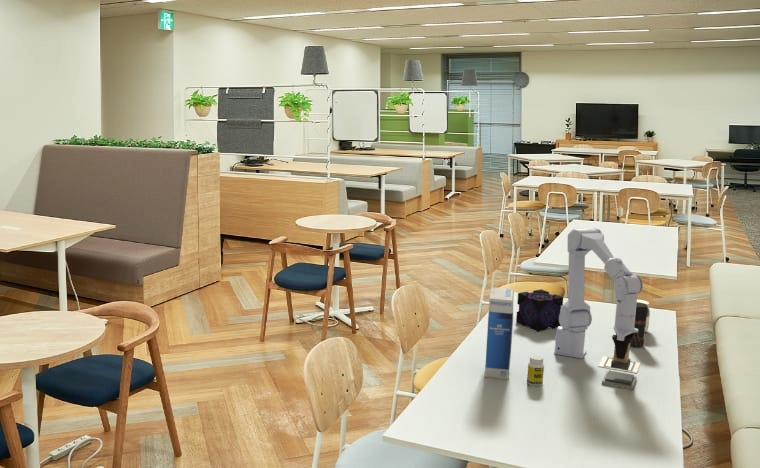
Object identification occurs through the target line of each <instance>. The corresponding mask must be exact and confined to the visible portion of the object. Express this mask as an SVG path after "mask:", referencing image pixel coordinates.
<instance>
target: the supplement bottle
mask: <svg viewBox="0 0 760 468" xmlns="http://www.w3.org/2000/svg"><path fill="white" fill-rule="evenodd" d="M544 370H545V365H544V357H543V356H541V355H535V354H533V355H530V357H529V362H528V364H527V375H526V383H527V384H528V385H529V386H533V387H540V386H542V385H543V383H544V373H545V372H544Z"/></svg>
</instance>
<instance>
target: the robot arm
mask: <svg viewBox="0 0 760 468" xmlns="http://www.w3.org/2000/svg"><path fill="white" fill-rule="evenodd" d="M590 251H593V253H594V254H595V255H596V256H597V257H598V258H599V259H600V260H601V261H602V262H603V264H604V265H603V266H604V267H603V269H604V270H605V272H606V274H607V275H608V276H609V278H610V279H611V280H612V281H613V287H614V288H613V289H614V291H615V299H616V306H615V307H616V308H615V318H614V326H613V330H614V331H615V332H614V333H615V334H613V335H612V336H611V338H612V341H613V344H614V349H615V348H616V356H617V358H619V359H624V358H625V355H626V351H627V348H628V345H629V343H630V342H631V340H632V339H631V338H632V337H633V335H634V334H635V332H638V329H637V328H634V325H635V314H636V304H637V300H638V294H640V293H641V292H642V291H643V286H644V285H643V279H642V278H641V276H640V275H639V274H635V273H633V272H631V271H630V269H629V268H628V267H627V266H626V265H625V263H624V262H623V260H622V259H621V258H619V257H615V256H614V255H613V254H612V252H611V250H610V248H609V247H608V246H607V244H606V243H605V235H604V233H603V232H602V230H601V229H600V228H598V227H596V228H587V229H584V228H583V229H576V228H575V229H574V228H573V229H572V230H571V231H569V233H567V252H568V275H567V276H568V284H567V285H568V286H567V288H568V289H567V291H568V292H567V293H568V294H567V295H568V296H567V297H568V298H567V300H566V301H565V302H563V305H562V306H561V311H560V315H559V323H560V325H561V326H558V328H556V333H555V341H554V342H555V344H554V355H560V356H565V357H571V358H577V359H583V358H584V356H585V355H586V353H587V349H585V341H586V340H585V339H586V330H588V328H589V327H590V326H591V324H592V322H593V317H592V313H591V306H590V305H589V304H588V303H587V302H586V301H585V279H586V278H585V275H586V274H585V271H586V269H585V268H586V267H585V266H586V264H585V263H586V255H587V254H588V253H589V252H590Z"/></svg>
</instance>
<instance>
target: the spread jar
mask: <svg viewBox="0 0 760 468" xmlns="http://www.w3.org/2000/svg"><path fill="white" fill-rule="evenodd" d="M637 302H640V303H644V304H647V305H648V307H647V317H646V327H645V335H646V334H647V333H648V330H649V324H650V315H651V313H650V312H651V311H650V308H649V307H650V302H649V301H648V300H647V301H646V300H643V299H637Z"/></svg>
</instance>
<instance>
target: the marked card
mask: <svg viewBox="0 0 760 468" xmlns="http://www.w3.org/2000/svg"><path fill="white" fill-rule="evenodd" d="M612 359H613V357H610V356H605V355H604V356H602V358H601V360H600V362H599V363H598V366H597V367H599V368H605V369H610V370H614V371H621V372H625V373H627V372H628V373H631V374H637V373H638V372H639V369H640V366H641V362H639V361H633V360H630V366H629V369H628V370H624V369H619V368H613V367H611V361H612Z"/></svg>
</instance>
